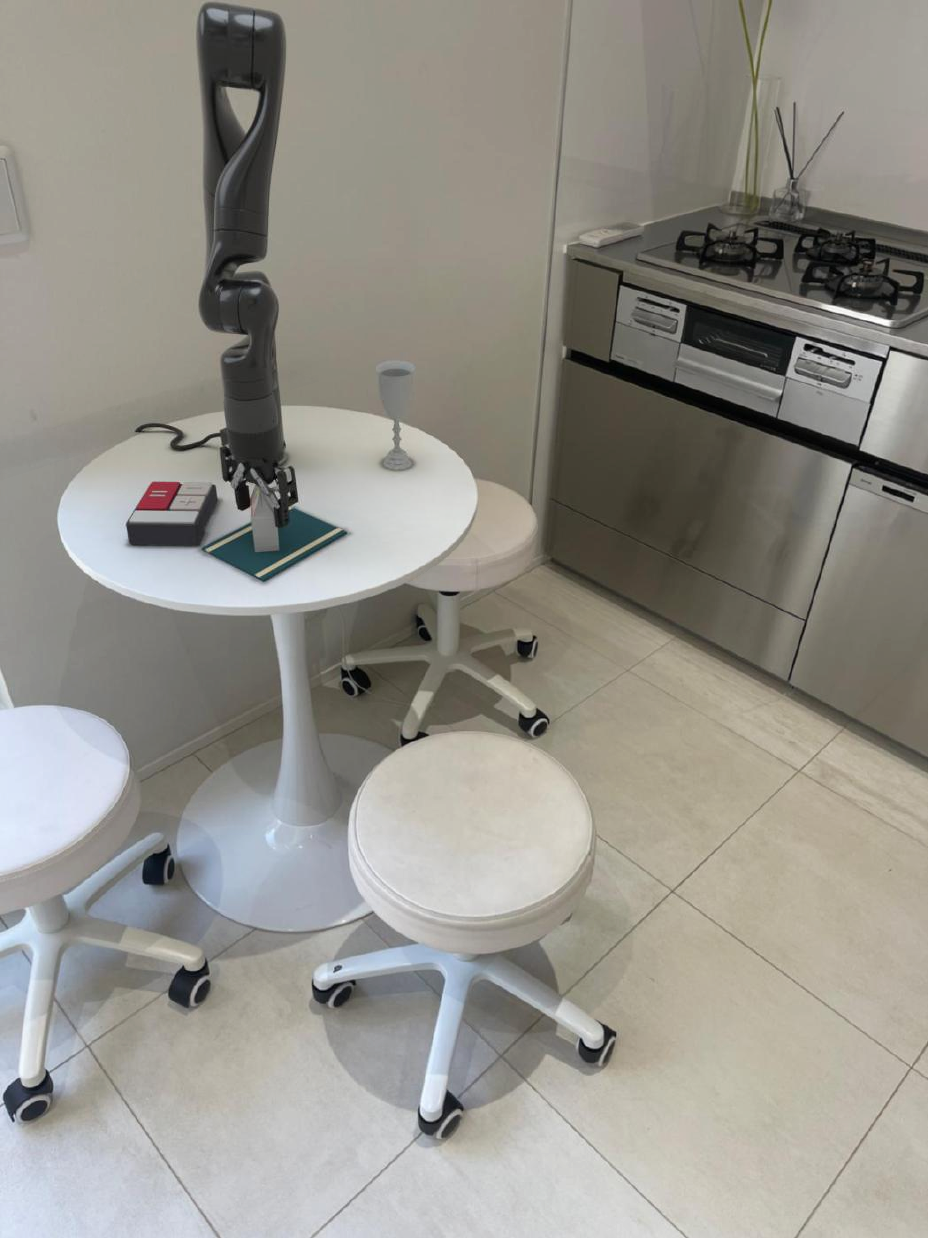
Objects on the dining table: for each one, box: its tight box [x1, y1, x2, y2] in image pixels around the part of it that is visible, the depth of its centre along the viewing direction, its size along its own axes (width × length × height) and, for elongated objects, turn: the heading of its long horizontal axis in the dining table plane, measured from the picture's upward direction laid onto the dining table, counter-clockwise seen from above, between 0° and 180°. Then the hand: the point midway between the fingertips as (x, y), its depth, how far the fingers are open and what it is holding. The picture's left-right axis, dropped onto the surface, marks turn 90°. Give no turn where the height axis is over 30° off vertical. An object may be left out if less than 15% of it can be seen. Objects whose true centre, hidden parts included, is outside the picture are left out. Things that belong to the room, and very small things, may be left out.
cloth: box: [201, 506, 348, 582], centre depth 151 cm, size 14×18×1 cm
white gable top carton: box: [250, 484, 279, 552], centre depth 148 cm, size 4×7×10 cm, turn 11°
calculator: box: [125, 481, 219, 546], centre depth 155 cm, size 11×4×15 cm
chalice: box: [375, 360, 416, 471], centre depth 169 cm, size 7×7×18 cm
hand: (263, 517), depth 149 cm, fingers open, 8 cm apart
